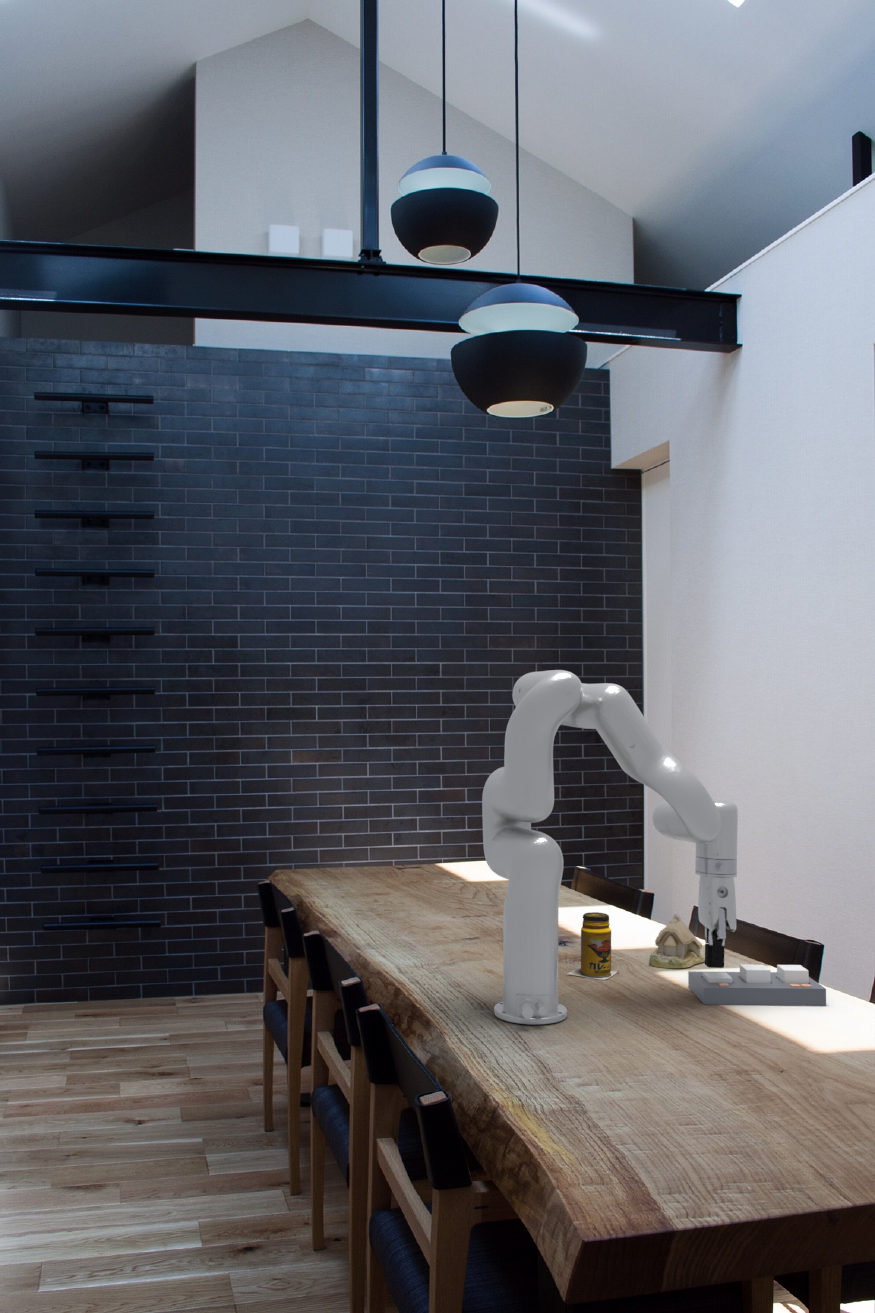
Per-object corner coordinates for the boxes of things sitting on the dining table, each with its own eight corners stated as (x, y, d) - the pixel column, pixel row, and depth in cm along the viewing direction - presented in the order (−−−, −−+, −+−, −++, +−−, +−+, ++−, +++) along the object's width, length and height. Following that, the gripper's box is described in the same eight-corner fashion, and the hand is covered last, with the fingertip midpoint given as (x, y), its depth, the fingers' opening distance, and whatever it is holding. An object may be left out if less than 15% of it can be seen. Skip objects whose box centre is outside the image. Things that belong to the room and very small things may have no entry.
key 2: (770, 989, 194) (770, 970, 194) (746, 989, 194) (746, 970, 194) (763, 983, 198) (763, 964, 199) (739, 983, 198) (739, 964, 199)
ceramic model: (658, 953, 232) (658, 907, 233) (709, 958, 227) (709, 911, 228) (640, 966, 219) (640, 917, 220) (694, 973, 214) (694, 923, 215)
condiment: (605, 980, 207) (605, 918, 208) (565, 975, 211) (565, 914, 212) (618, 973, 213) (618, 913, 214) (579, 967, 217) (579, 908, 218)
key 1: (808, 990, 194) (808, 970, 194) (784, 989, 194) (784, 970, 194) (800, 984, 198) (800, 965, 199) (777, 983, 198) (776, 964, 199)
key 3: (732, 997, 194) (732, 978, 194) (708, 997, 194) (708, 978, 194) (726, 991, 198) (726, 972, 198) (702, 991, 198) (702, 972, 198)
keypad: (826, 1005, 190) (825, 987, 190) (704, 1004, 190) (704, 986, 190) (803, 988, 202) (803, 971, 202) (688, 987, 202) (688, 970, 202)
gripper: (747, 873, 190) (746, 977, 189) (725, 862, 205) (723, 958, 204) (706, 872, 190) (704, 975, 189) (686, 861, 205) (684, 957, 204)
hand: (714, 966), depth 196 cm, fingers closed
